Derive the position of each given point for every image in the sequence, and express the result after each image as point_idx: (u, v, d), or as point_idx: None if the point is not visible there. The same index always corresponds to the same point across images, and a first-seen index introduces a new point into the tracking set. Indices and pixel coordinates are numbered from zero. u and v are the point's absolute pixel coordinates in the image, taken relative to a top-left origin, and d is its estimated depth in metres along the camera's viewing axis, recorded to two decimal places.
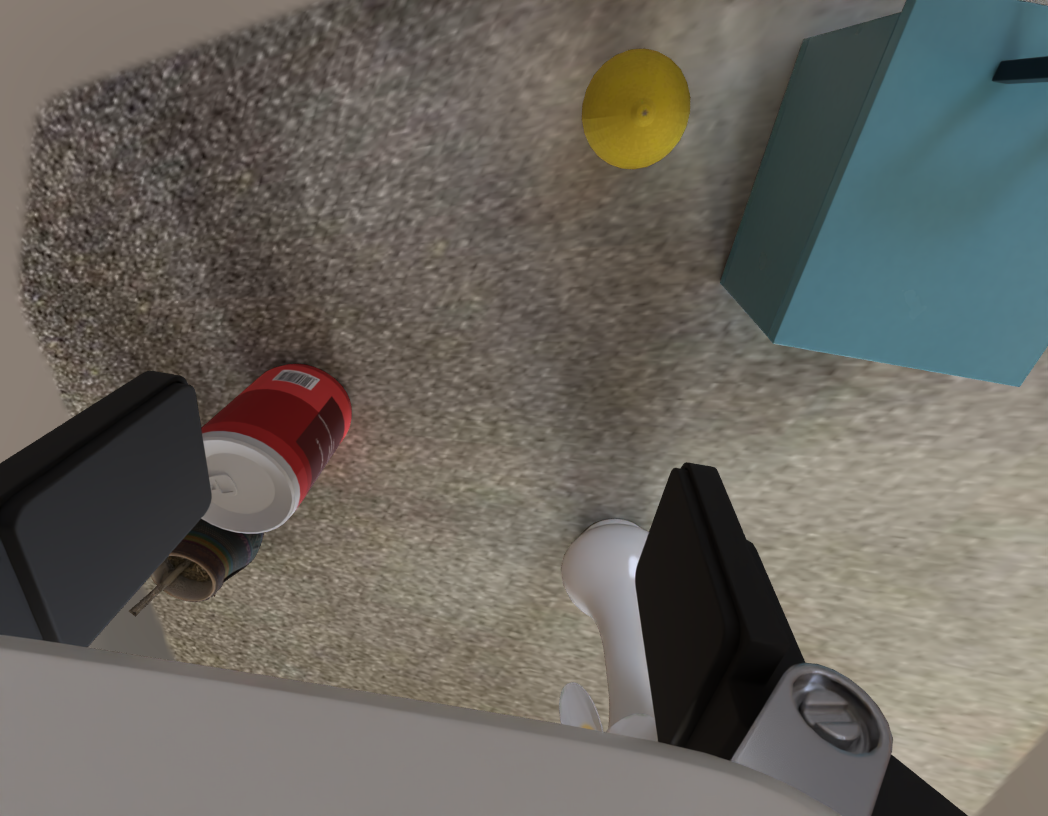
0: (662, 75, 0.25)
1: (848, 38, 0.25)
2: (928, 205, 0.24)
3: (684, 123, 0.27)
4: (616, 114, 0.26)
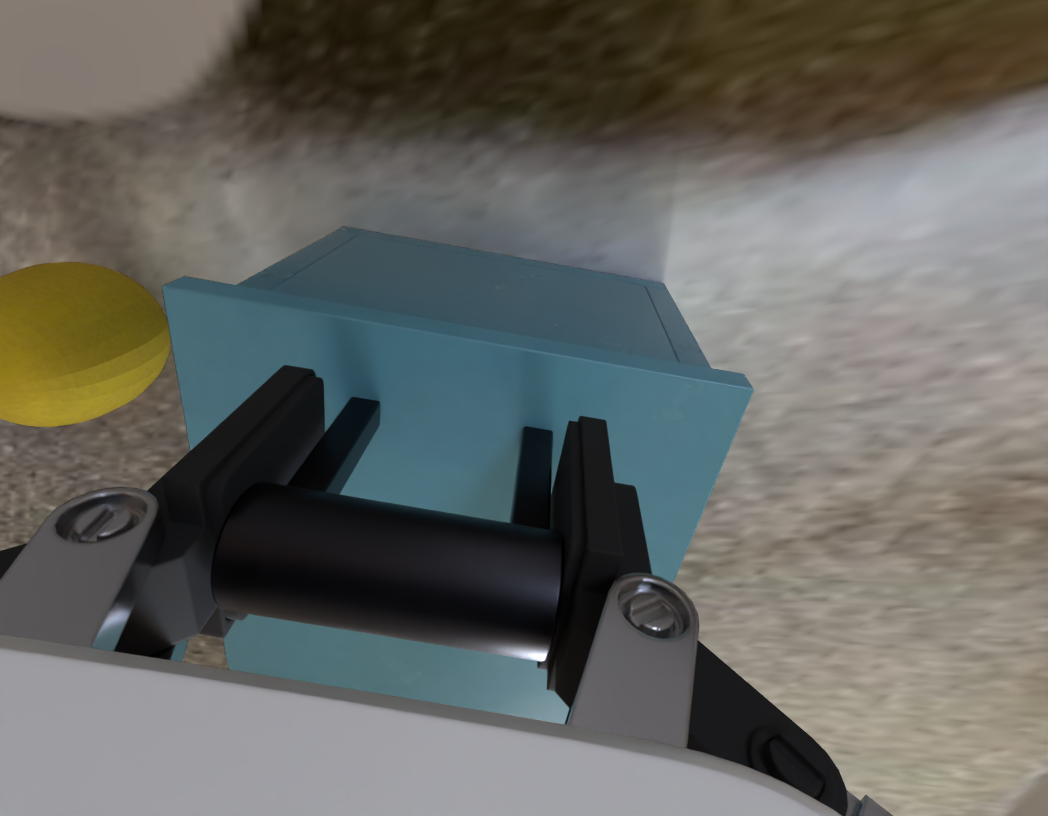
0: (0, 334, 0.17)
1: None
2: None
3: (90, 382, 0.18)
4: None
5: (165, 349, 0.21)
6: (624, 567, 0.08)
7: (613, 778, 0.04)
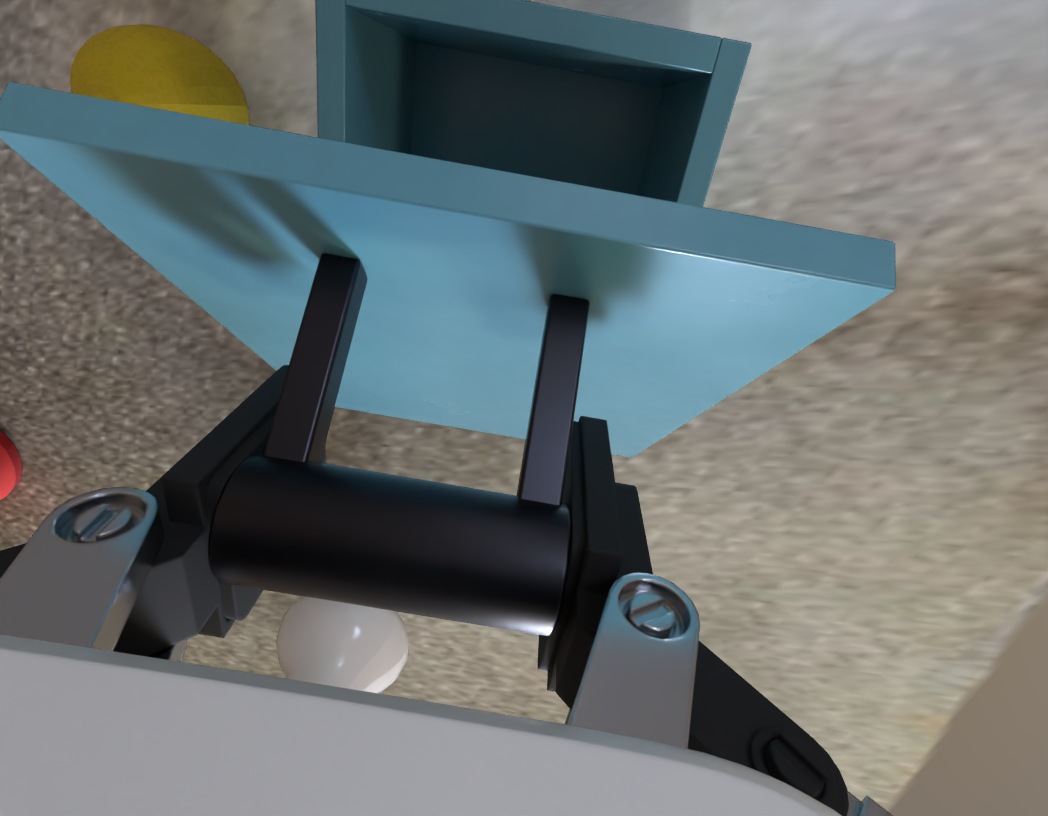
0: (125, 56, 0.19)
1: None
2: (381, 358, 0.14)
3: None
4: None
5: None
6: (625, 567, 0.08)
7: (613, 778, 0.04)
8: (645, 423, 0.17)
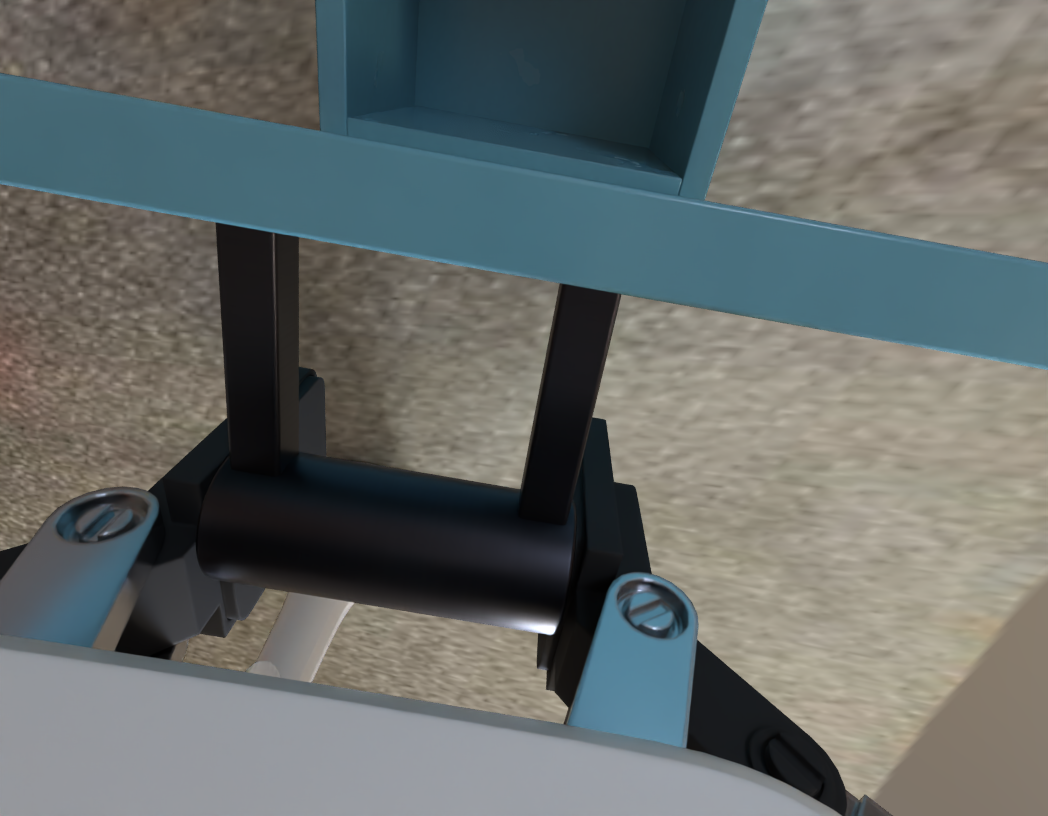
0: None
1: None
2: None
3: None
4: None
5: None
6: (623, 567, 0.08)
7: (613, 778, 0.04)
8: None
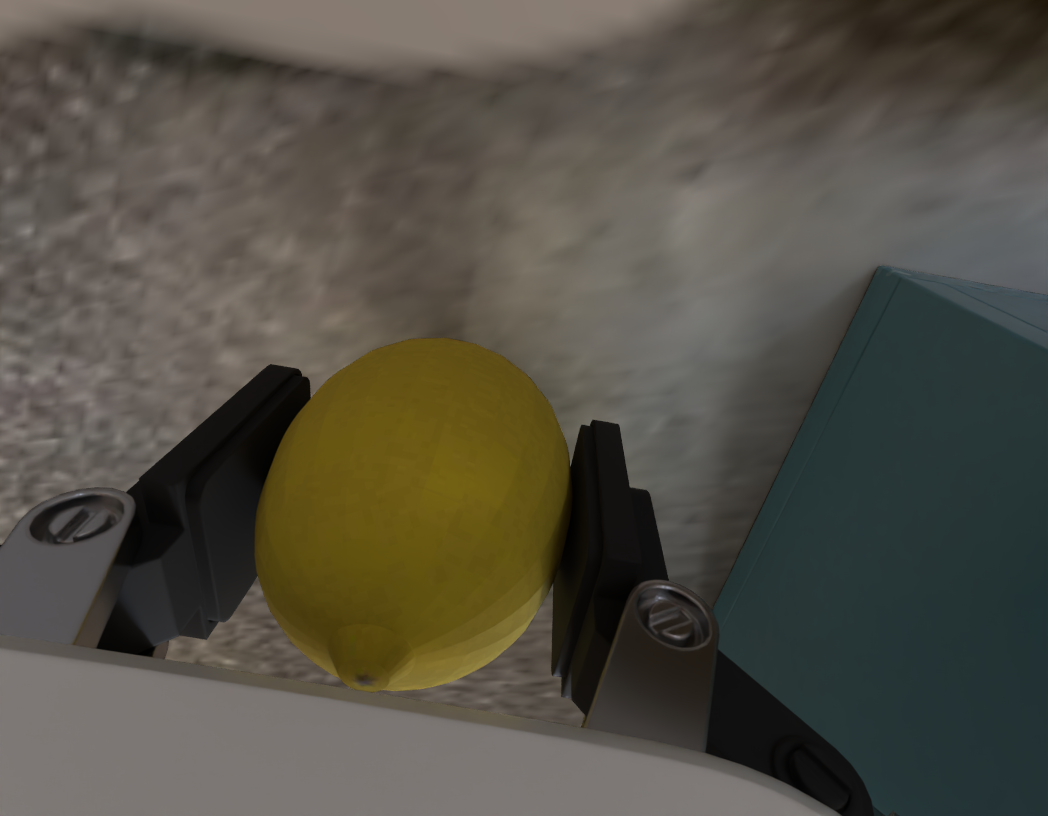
0: (429, 540, 0.07)
1: None
2: None
3: (539, 602, 0.09)
4: (294, 635, 0.08)
5: None
6: (640, 574, 0.08)
7: (613, 778, 0.04)
8: None
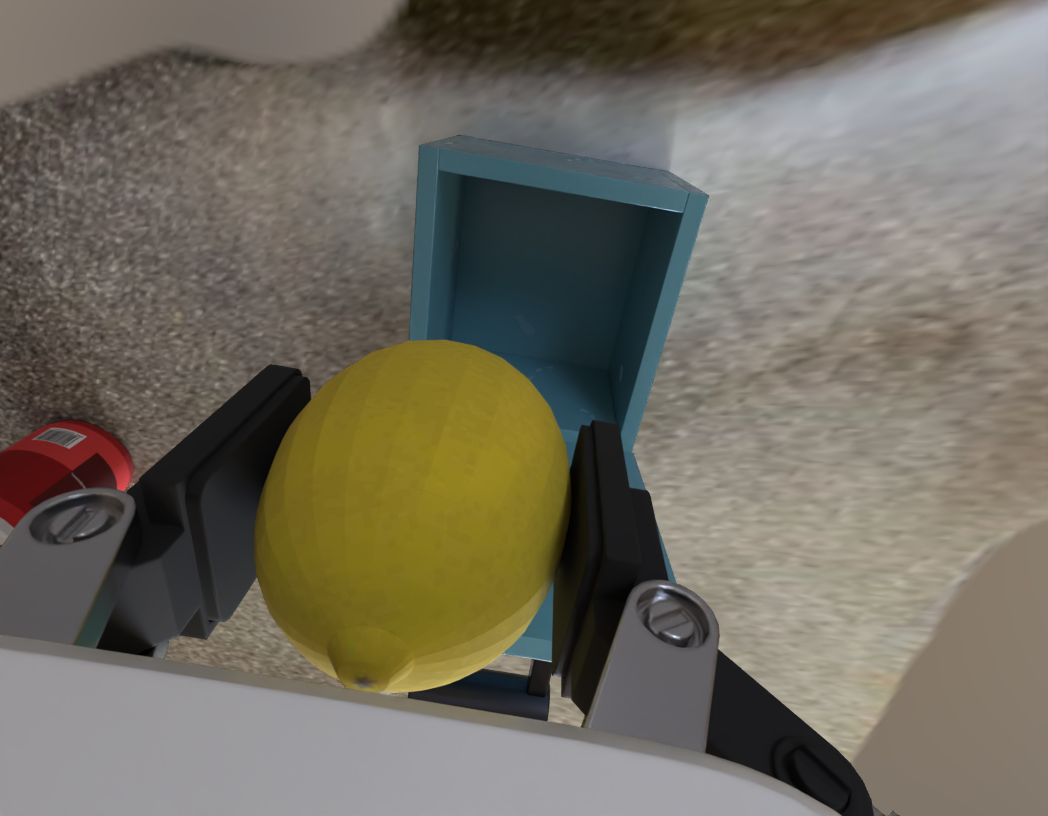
0: (429, 543, 0.07)
1: None
2: None
3: (539, 604, 0.09)
4: (293, 637, 0.08)
5: None
6: (640, 573, 0.08)
7: (613, 778, 0.04)
8: None
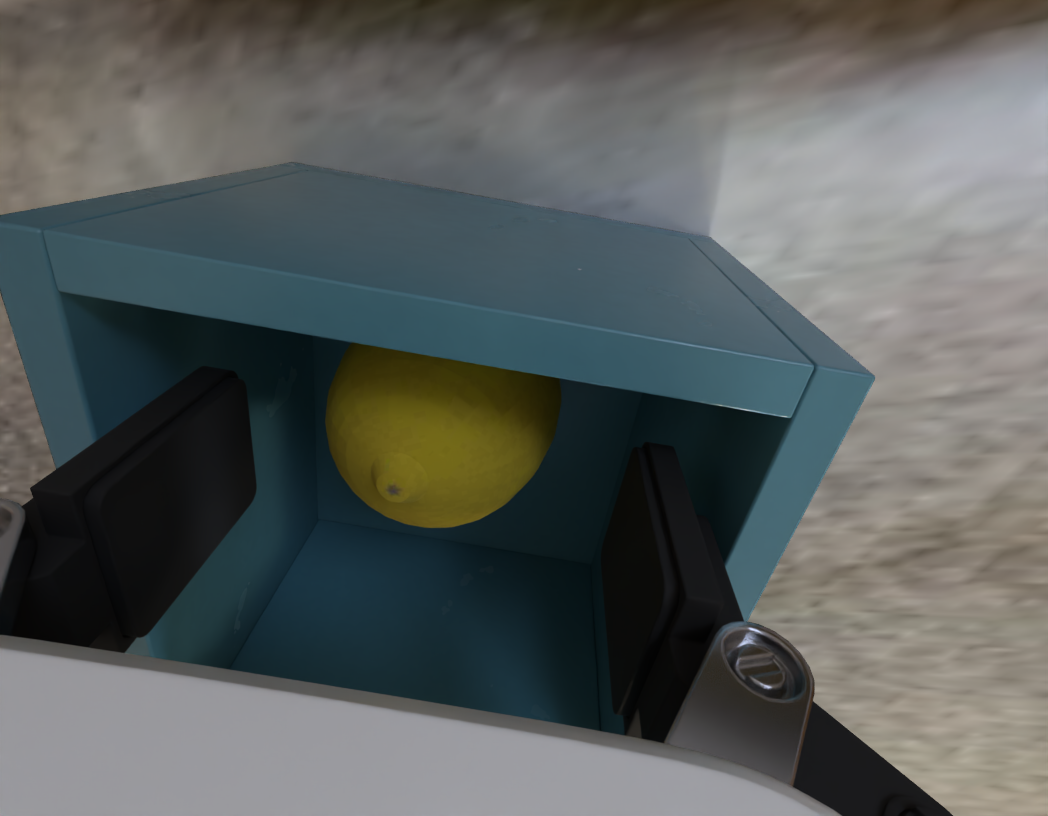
0: (443, 400, 0.10)
1: None
2: None
3: (523, 471, 0.12)
4: (349, 467, 0.11)
5: None
6: None
7: (613, 778, 0.04)
8: None
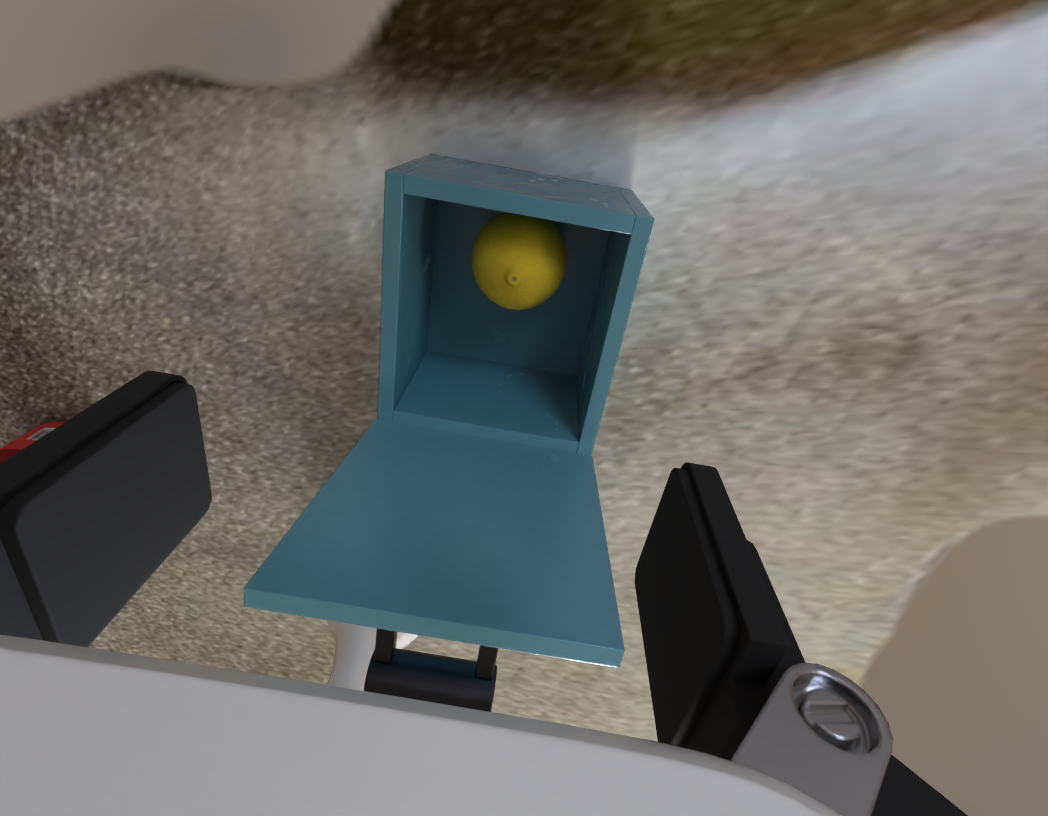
0: (530, 245, 0.28)
1: None
2: None
3: (557, 279, 0.30)
4: (492, 276, 0.29)
5: None
6: None
7: (612, 777, 0.04)
8: None
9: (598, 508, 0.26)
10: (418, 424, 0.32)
